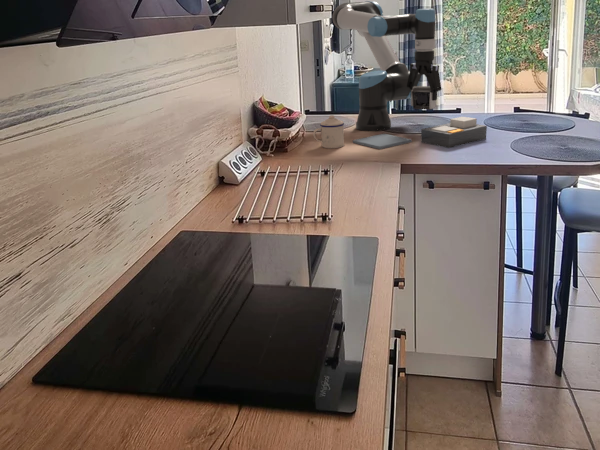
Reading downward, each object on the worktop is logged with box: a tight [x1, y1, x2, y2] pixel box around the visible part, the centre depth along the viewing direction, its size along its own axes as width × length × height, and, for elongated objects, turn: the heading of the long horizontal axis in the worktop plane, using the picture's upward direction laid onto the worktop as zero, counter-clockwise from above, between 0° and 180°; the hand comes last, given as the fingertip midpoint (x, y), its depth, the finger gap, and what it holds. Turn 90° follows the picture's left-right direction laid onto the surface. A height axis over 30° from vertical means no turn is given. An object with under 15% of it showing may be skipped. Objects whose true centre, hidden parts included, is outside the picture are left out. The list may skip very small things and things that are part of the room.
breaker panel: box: [420, 122, 488, 149], centre depth 218 cm, size 14×20×5 cm
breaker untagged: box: [449, 116, 478, 128], centre depth 219 cm, size 7×7×3 cm
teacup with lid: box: [312, 115, 345, 149], centre depth 220 cm, size 12×9×12 cm
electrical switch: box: [412, 85, 432, 110], centre depth 235 cm, size 9×5×9 cm, turn 56°
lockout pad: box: [352, 133, 413, 150], centre depth 223 cm, size 16×16×1 cm
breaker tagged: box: [431, 126, 458, 133], centre depth 215 cm, size 7×7×3 cm
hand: (423, 106), depth 236 cm, fingers closed on electrical switch, 10 cm apart
